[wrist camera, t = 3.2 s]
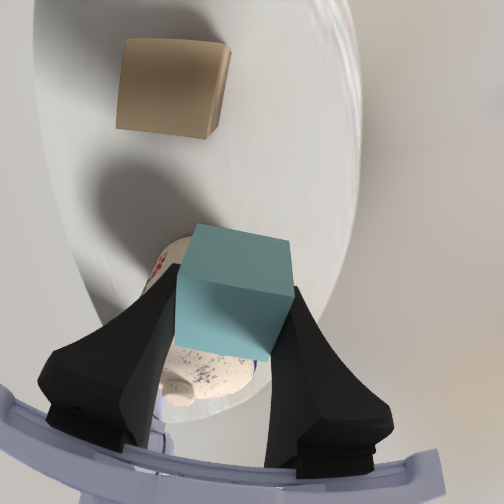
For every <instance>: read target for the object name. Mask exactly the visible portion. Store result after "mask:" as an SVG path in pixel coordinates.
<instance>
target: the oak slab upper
mask: <svg viewBox="0 0 504 504" xmlns="http://www.w3.org/2000/svg"><path fill="white" fill-rule="evenodd" d="M229 51H230V47H229V46H227V45H226V44H224V43H216V42H208V41H198V40H185V39H168V38H127V39H126V44H125V50H124V56H123V63H122V70H121V77H120V86H119V94H118V105H117V116H116V129H125V130H135V131H145V132H154V133H162V134H170V135H178V136H185V137H192V138H198V139H205V140H206V139H207V138H208V137H209V135H210V134H211V133H212V132H213V131H214V126H215V121H216V115H217V110H218V104H219V99H220V94H221V89H222V84H223V79H224V74H225V69H226V65H227V60H228V55H229Z"/></svg>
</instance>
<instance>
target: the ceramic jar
mask: <svg viewBox="0 0 504 504" xmlns="http://www.w3.org/2000/svg"><path fill="white" fill-rule="evenodd" d="M191 237H192V236H189V237H184V238H181V239H179V240H177V241H174V242H173V243H171V244H170V245H168V246H167V247H166V248H165V249H164V250H163V251H162V253H161V254H160V256H159V257H158V259H157V262H156V264H155V266H154V268H153V270H152V272H151V274H150V276H149V278H148V281H147V283H146V285H145V287H144V289H143V291H142V294H141V296H142V295H143V294H144V293H145V292H146V291H147V290H148V289H149V288H150V287H151V286H152V285H153V284H154V283H155V282H156V281H157V280H158V279H159V278H160V277H161V276H162V274H163V273H164V272H165V271H166V270H167V269H168V267H169V266H170V265H171V264H172V263H177V264H182V261H183V258H184V256H185V253H186V250H187V248H188V245H189V243H190V240H191ZM141 296H140V297H141ZM174 345H175V335H174V338H173V341H172V343H171V346H170V349H169V352H168V354H167V357H166V360H165V363H164V366H163V370H162V374H161V378H160V383H159V387H158V388H159V389H161V390H162V396H163V398H164V399H165V400H166V401H167V402H169V403H170V404H173V405H176V406H189V405H190V404H192V403H193V402H194V399H195V398H218V397H223V396H227V395H230V394H233V393H235V392H237V391H239V390H240V389H242V388H243V387H244V386H245V385H246V384H247V383H248V382H249V381H250V379H251V378H252V376H253V374H254V372H255V369H256V364H257V360H250V359H243V358H237V357H231V356H225V355H219V354H214V353H208V352H203V351H198V350H193V349H188V348H183V347H178V346H174Z"/></svg>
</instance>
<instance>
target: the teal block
mask: <svg viewBox="0 0 504 504" xmlns="http://www.w3.org/2000/svg"><path fill="white" fill-rule="evenodd" d="M294 298H295V293H294V283H293V273H292V263H291V254H290V245H289V241H287V240H282V239H277V238H272V237H267V236H262V235H257V234H252V233H247V232H242V231H237V230H232V229H227V228H221V227H216V226H211V225H206V224H201V223H197V225H196V227H195V230H194V232H193V235H192V237H191V240H190V243H189V245H188V248H187V250H186V253H185V256H184V258H183V261H182V264H181V266H180V269H179V272H178V274H177V288H176V310H175V345H174V346H178V347H183V348H188V349H193V350H198V351H203V352H208V353H214V354H219V355H225V356H231V357H237V358H243V359H250V360H257V361H264V362H267V361H268V358H269V356H270V354H271V352H272V349H273V347H274V345H275V343H276V340H277V338H278V336H279V333H280V331H281V329H282V326H283V324H284V322H285V319H286V317H287V315H288V312H289V310H290V308H291V305H292V303H293V300H294Z"/></svg>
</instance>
